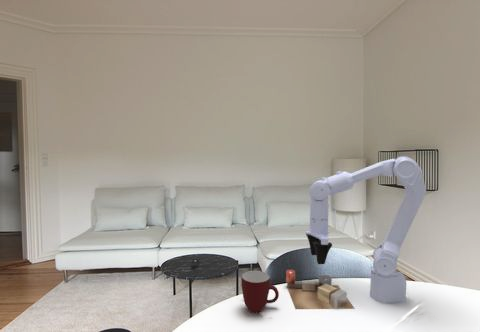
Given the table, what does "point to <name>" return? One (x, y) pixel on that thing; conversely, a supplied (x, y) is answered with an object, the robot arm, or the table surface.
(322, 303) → the board
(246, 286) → the mug
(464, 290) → the table surface
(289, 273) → the lever
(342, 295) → the brown grey rectangular block
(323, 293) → the tan cube
